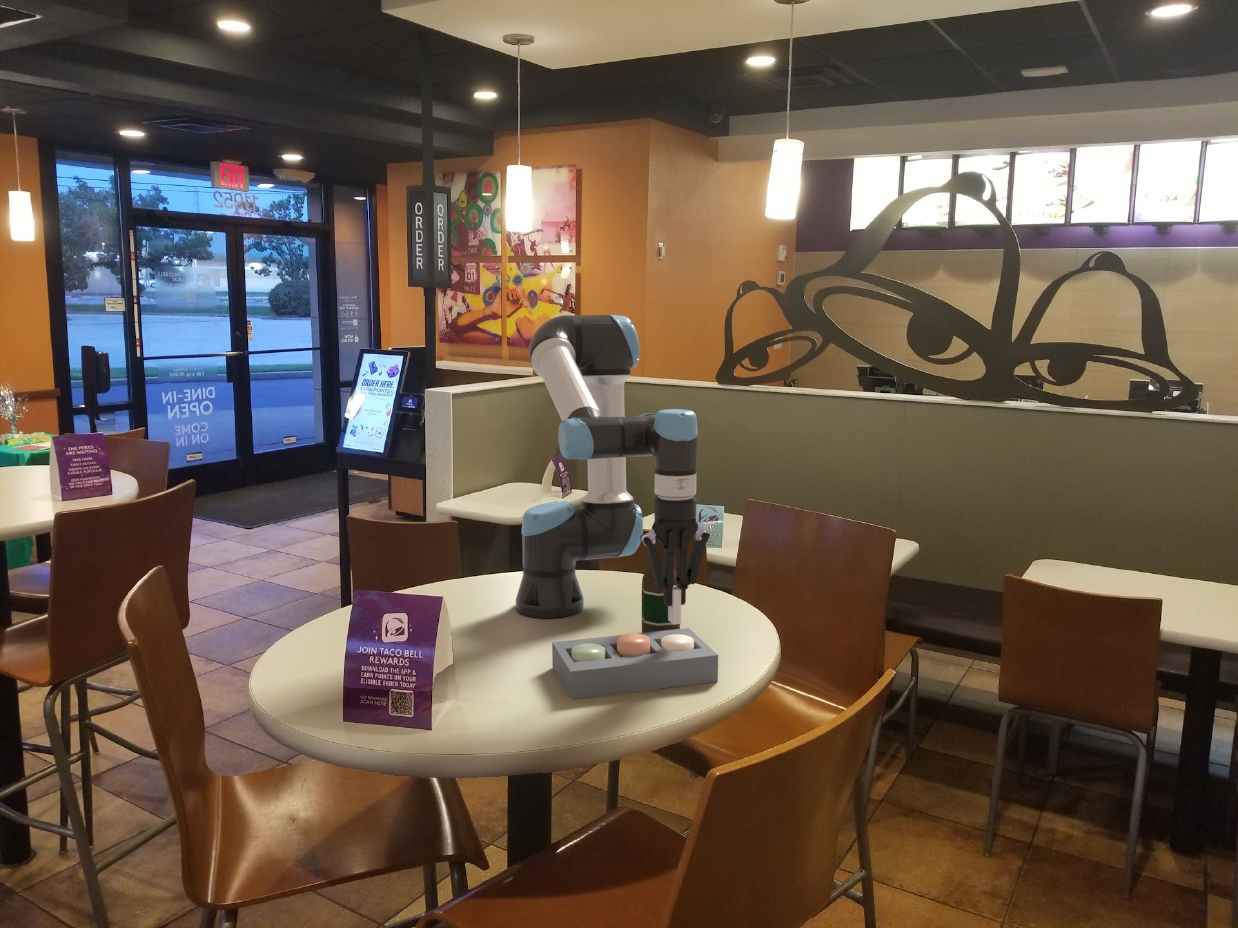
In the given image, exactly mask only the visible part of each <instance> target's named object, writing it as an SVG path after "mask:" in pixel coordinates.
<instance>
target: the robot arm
mask: <svg viewBox="0 0 1238 928" xmlns="http://www.w3.org/2000/svg"><path fill="white" fill-rule="evenodd" d="M528 359H529V363H530V365H531V367H532V369H533V372H534V373H535V374H536V375H537V376H539V377H540V378H542V380H543V382H544V385H545V386H546V389H547V392H548V394H549V395H550V398H551V399H552V403H554V406H555V409H556V410H557V413H558V415H559V418H560V420H561V421H560V423H559V426H558V432H557V434H558V435H557V440H558V441H557V442H558V446H559V452H560V453H561V454H560V455H562V457H563V458H565V459H566V460H580V461H587V492H586V493H585V494H584V496H583V497H582V498H581V507H578V508H576V506H575V504H574V503H572V502H571V501H567V500H566V501H551V502H549V501H548V502H546V503H545V502H544V503H540V504H537V505H534V506H531V507H530V508H528V509H527V510H526V511H524V513H523V514H522V522H521V536H522V538H521V540H522V542H521V543H522V544H521V545H522V577H521V581H520V583H519V587H518V591H517V594H516V598H515V610H516V612H517V613H518V614H521V615H523V616H525V617H532V618H537V619H538V618H541V619H554V618H555V619H556V618H565V617H569V616H573V615H576V614H578V613H580V612H581V611H583V609H584V602H585V601H584V595H583V592H582V589H581V587H580V583H579V581H578V577H577V574H576V562H578V561H587V560H596V559H597V560H598V559H609V558H613V559H618V558H620V557H627V556H631V555H633V554H635V553H636V552H637V550H638V549H639V547H640V545H641V543H642V544H643V546H644V547H645V551H646V555H647V559H648V562H649V563H648V564H649V565H650V569H651V573H652V577H653V581H654V583H655V584H656V585H657V586H659V587H662V588H664V604H665V605H666V606H668V620H669V621H670V622H671V623H672V624H673V625H675V624H680V625H681V623H682V605H685V604H686V602H687V601H686V600H687V598H686V597H687V596H686V594H687V592H686V591H687V590H688V588H689V586H691V585H695V584H696V582H697V578H698V573H699V570H700V566H701V562H702V557H703V554H704V549H705V545H707V542H708V540H709V539H710V537H711V535H710V533H709V532H707V531H706V530H704V529H701V528H699V524H698V522H697V498H696V497H695V496H696V494H697V473H698V472H697V467H698V466H697V463H698V462H697V461H698V459H697V458H698V456H697V455H698V452H697V451H698V434H699V430H698V421H697V419H698V418H697V414H696V413H695V411H693V410H691V409H680V408H670V409H669V408H668V409H660V410H658V411H657V412H656V413H654V412H653V413H651V412H650V413H649V412H648V413H643V414H640V415H638V416H636V415H634V416H625V414H626V413H625V409H626V408H625V383H626V381H627V380H629V378H630V377H631V376H632V374H631V369H634V368H636V367H637V366H638V364H639V359H640V342H639V338H638V332H637V330H636V328H635V325H634V323H633V322H632V321H631V319H630V318H628V317H627V316H624V315H616V314H588V315H587V314H585V315H584V314H581V315H580V314H579V315H570V314H563V315H558V316H555V317H551V318H550V319H547V320H546V321H544V322H543V323H542V324H541V325H540V326H539V327H538V329H537V330H536V331H535V332H534V333H533V335H532V337H531V339H530V342H529V345H528ZM629 457H630V458H632V457H633V458H634V457H635V458H636V457H654V490H653V491H654V494H655V495H656V496H655V497H654V500H653V501H654V503H653V504H654V507H653V508H654V510H653V511H654V515H653V516H654V522H653V524H652V526H651V530H650V531H648V532H647V533H646V534H643V532H644V531H643V530H644V517H643V512H642V509H641V507H640V506H639V505H638V504H636V503H634V497H633V496H632V495H631V494H630V492H628V490H627V468H626V467H627V463H626V462H627V460H626V458H629ZM655 536H656V537H657V538H658V539H659V541H660V542H661V543H662V549H663V577H662V572H661V568H660V564H659V560H658V555H657V551H656V548H655V546H654V544H655V542H656V540H655ZM693 537H694V540H693V543H692V547H691V552H690V554H689V555H690V556H689V559H688V552H689V544H690V542H691V540H692V539H693ZM675 552H676V553H675ZM674 555H675V556H674ZM674 558H675V559H674ZM674 561H675V563H674ZM674 564H675V567H674ZM674 569H675V570H676V584H677V586H676V585H675V586H673V578H674Z"/></svg>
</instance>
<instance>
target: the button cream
mask: <svg viewBox="0 0 1238 928" xmlns="http://www.w3.org/2000/svg"><path fill="white" fill-rule="evenodd" d="M661 648H662V649H663V650H664V651H665V652H673V651H682V650H691V649H694V639H693V638H692V637H690V636H687V635H681V634H672V635H667V636H664V637H663V638H662V639H661Z"/></svg>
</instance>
